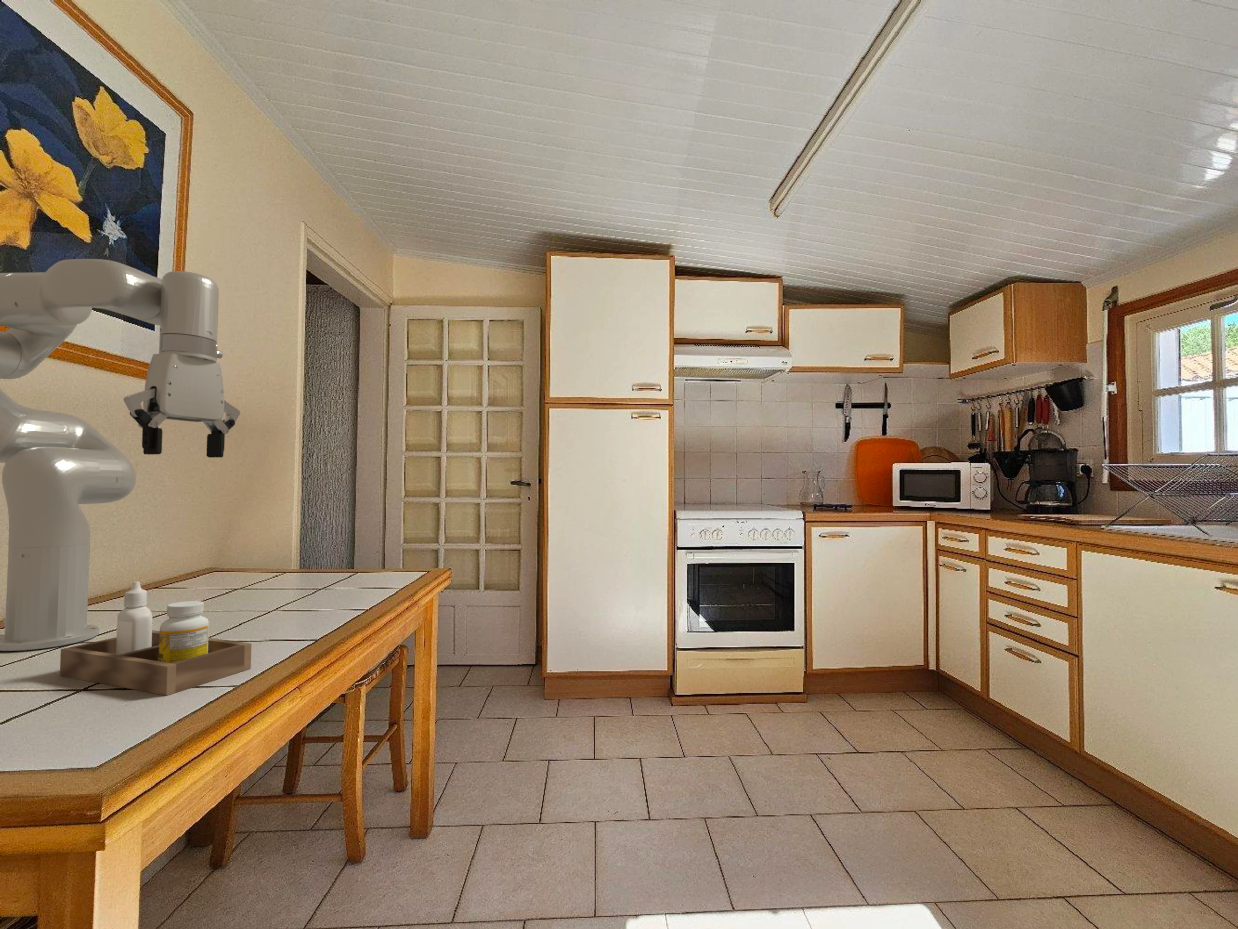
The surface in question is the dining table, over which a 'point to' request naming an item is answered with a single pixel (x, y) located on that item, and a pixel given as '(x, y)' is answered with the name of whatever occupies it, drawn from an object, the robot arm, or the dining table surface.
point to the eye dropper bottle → (134, 622)
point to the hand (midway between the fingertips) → (185, 455)
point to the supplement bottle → (183, 632)
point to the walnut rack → (153, 665)
